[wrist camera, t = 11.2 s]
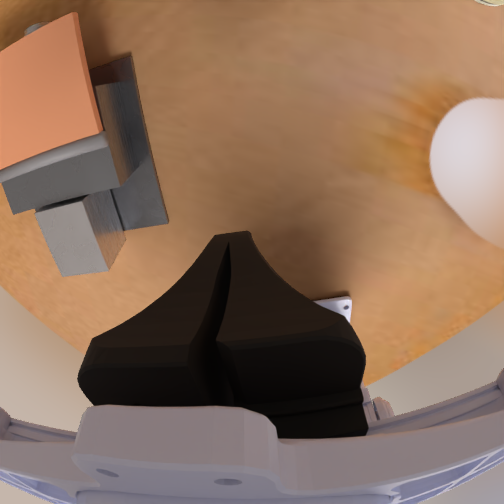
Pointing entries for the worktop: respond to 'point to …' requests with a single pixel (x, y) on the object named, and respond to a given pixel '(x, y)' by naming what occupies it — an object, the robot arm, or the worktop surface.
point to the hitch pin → (81, 228)
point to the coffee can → (491, 2)
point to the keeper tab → (46, 100)
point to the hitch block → (103, 158)
